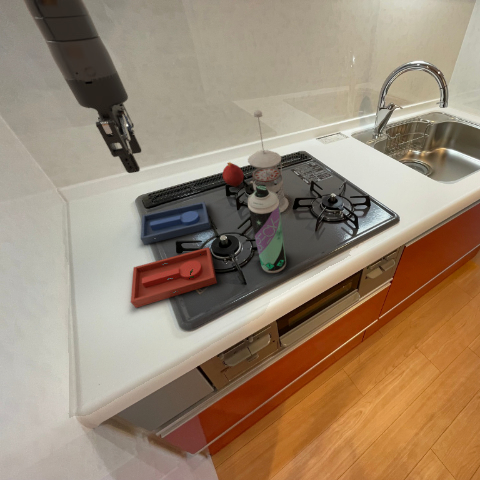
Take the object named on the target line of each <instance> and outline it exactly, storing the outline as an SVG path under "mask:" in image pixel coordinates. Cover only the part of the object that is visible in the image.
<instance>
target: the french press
mask: <svg viewBox="0 0 480 480" xmlns="http://www.w3.org/2000/svg"><path fill="white" fill-rule="evenodd" d="M253 117H254V118H257V120H258V121H257V122H258V127H259V133H260V141H261V142H260V143H261V148H262V150H257V151H255V152H254V153H251V154H250V155H249V156H248V158H247V163H248V164H249V165H250V166H251V167H253V168H255V170H254V171H253V172H252V178H251V181H252V187H253V193H254V192H255V191H256V187H257V186H258V185H264V186H266V189H267V190H268V191H272V192H274V193H275V194H276V195H277V197H278V200H279V207H280V214H281V213H283V212H284V211H286V210H287V208H288V206H289V204H290V203H289V199H288V198H287V197H285V191H284V190H285V189H284V183H283V182H284V180H283V179H284V178H283V176H282V173H283V172H282V171H283V166H282V165H283V163H282V156H281V155H280V154H279V153H278V152H276V151H272V150H268V149H264V143H263V142H264V141H263V136H262V129H261V121H260V118H262V117H263V112H262V111H261V110H259V109H256V110H254V111H253ZM279 164H280V169H279V168H278V167H277V166H278V165H279ZM275 181H276V184H275Z"/></svg>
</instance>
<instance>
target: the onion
mask: <svg viewBox="0 0 480 480" xmlns="http://www.w3.org/2000/svg"><path fill="white" fill-rule="evenodd" d="M226 164H227V165H226V166H225V167H224V168H223V170H222V179H223V181H224V183H226V184H227V185H229V186H231V187H234V188H236V187H239V186H240V185H241V184H242V183H243V181H244V178H245V177H244V176H245V175H244V171H243V169H241V167H240V166H239V165H237V164H235V163H233V162H231V161H228V162H227V163H226Z"/></svg>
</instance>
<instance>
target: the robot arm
mask: <svg viewBox="0 0 480 480" xmlns="http://www.w3.org/2000/svg"><path fill="white" fill-rule="evenodd" d="M22 1H23V3H24V5H25V8H26V9H27V11H28V14H29V15H30V16H31V18H32V20H33V22H34V24H35V26H36V28H37V29H38V31H39V33H40V34H41V36H42V38H43V39H44V42H45V44H46V46H47V48H48V51H49V53H50V55H51V57H52V59H53V61H54V63H55V65H56V67H57V68H58V70H59V72H60V74H61V76H62V78H64V80H65V82H66V84H67V86H68V87H69V89H70V91H71V93H72V95H73V97H74V98H75V100H76V101H77V103H78V105H80V106H81V107H83V108H85V109H92V110H95V111H96V112H97V115H98V116H97V121H95V126H96V128H97V129H98V131H99V133H100V135H101V137H102V139H103V141H104V142H105V144H106V146H107V148H108V150H109V152H110V155H111V156H112V157H113V158H117V157H118V159H119V160H120V162H121V163H122V166H123V167H124V169H125V171H126V173H128V174H134V173H139V172H140V171H141V169H140V165H139V164H138V161H137V160H136V157H135V156H134V154H140V153H142V147H141V146H140V143H139V141H138V139H137V137H136V133H135V132H136V131H135V129H134V128H135V124H134V123H133V121H132V119H131V117H130V115H129V113H128V110H127V108H126V106H125V104H124V103H126V102H127V100H128V99H129V95H128V93H127V91H126V88H125V86H124V84H123V82H122V80H121V77H120V75H119V72H118V70H117V68H116V66H115V64H114V61H113V59H112V57H111V55H110V53H109V51H108V49H107V47H106V46H105V44H104V42H103V40H102V38H101V36H99V35H100V34H99V32H98V29H97V28H96V25H95V22H94V21H93V18H92V15H91V14H90V12H89V10H88V8H87V5H86V4H85V2H84V0H22ZM118 144H119V145H120V146H121V147H120V148H119V147H118Z"/></svg>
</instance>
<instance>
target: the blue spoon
mask: <svg viewBox="0 0 480 480" xmlns="http://www.w3.org/2000/svg"><path fill="white" fill-rule="evenodd" d="M199 219H200V217H199V215H198V213H197V212H195V211H189V212H186V213H184V214H182V215H181V216H175V217H171V218H166V219H162V220H157V221H153V222H150V227H151V229H152V230H157V229H161V228H166V227H170V226H174V225H179V224H184V225H193V224H195V223H197V222H198V221H199Z"/></svg>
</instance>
